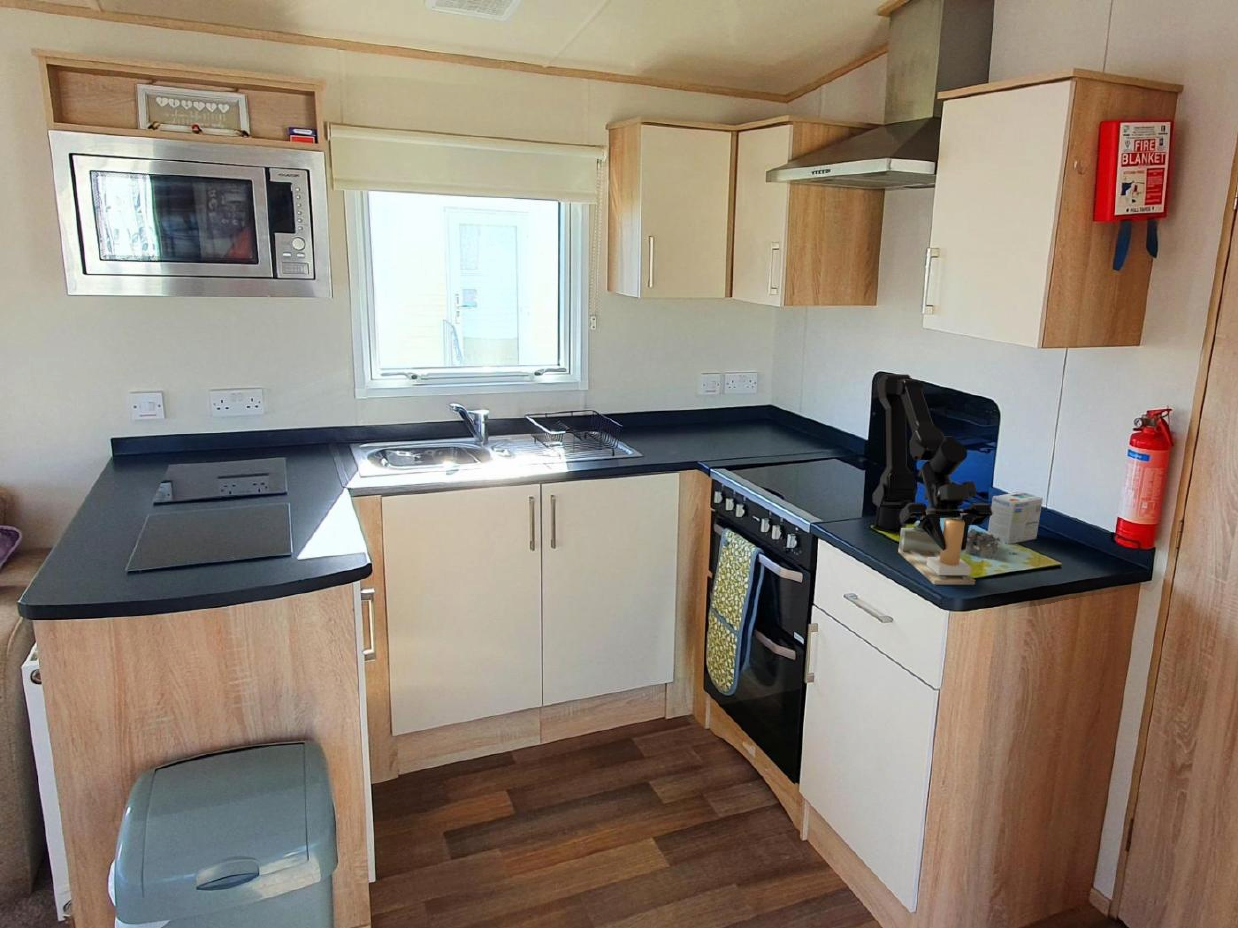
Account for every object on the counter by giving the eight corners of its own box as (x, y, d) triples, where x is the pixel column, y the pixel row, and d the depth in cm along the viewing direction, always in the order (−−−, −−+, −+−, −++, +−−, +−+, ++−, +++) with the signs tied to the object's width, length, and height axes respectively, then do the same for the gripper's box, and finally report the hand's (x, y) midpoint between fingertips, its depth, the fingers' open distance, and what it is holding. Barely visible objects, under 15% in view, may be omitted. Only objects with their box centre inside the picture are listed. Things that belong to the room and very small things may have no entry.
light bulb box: (1014, 531, 220) (1020, 490, 217) (1037, 539, 214) (1044, 497, 211) (985, 536, 215) (991, 495, 212) (1008, 545, 209) (1015, 502, 206)
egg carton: (988, 560, 199) (991, 544, 198) (955, 552, 203) (958, 536, 202) (1001, 548, 207) (1004, 532, 206) (969, 541, 211) (972, 525, 210)
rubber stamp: (926, 564, 188) (932, 516, 186) (957, 564, 189) (964, 516, 186) (938, 575, 183) (945, 525, 180) (970, 575, 183) (977, 525, 180)
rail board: (897, 551, 202) (900, 525, 200) (934, 551, 203) (937, 525, 201) (933, 584, 182) (937, 556, 181) (974, 584, 183) (978, 556, 182)
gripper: (911, 466, 183) (926, 532, 175) (995, 467, 185) (1014, 533, 177) (892, 491, 193) (906, 555, 185) (972, 492, 194) (989, 555, 187)
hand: (954, 549), depth 183 cm, fingers closed on rubber stamp, 4 cm apart
